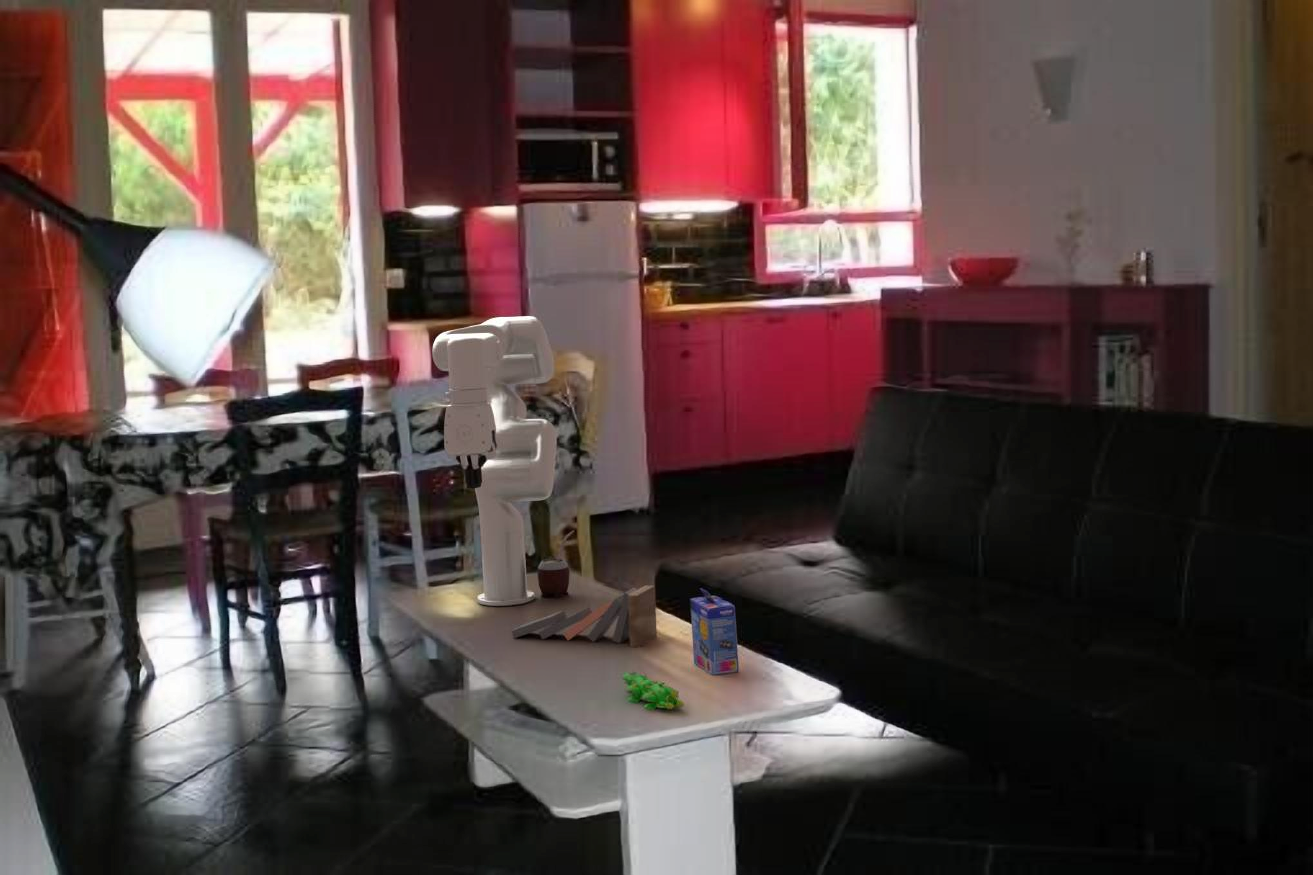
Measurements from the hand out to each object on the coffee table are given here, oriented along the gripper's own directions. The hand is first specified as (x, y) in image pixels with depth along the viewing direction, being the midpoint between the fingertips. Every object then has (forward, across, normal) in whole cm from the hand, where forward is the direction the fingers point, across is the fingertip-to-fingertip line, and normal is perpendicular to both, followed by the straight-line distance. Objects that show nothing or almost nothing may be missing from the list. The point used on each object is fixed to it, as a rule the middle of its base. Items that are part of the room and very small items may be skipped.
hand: (474, 487), depth 320 cm
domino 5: (+29, +33, -4) cm, 44 cm away
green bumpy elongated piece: (+30, +54, -44) cm, 76 cm away
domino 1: (+28, +10, -4) cm, 31 cm away
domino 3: (+28, +22, -4) cm, 36 cm away
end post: (+29, +37, -4) cm, 48 cm away
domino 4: (+29, +27, -4) cm, 40 cm away
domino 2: (+28, +16, -4) cm, 33 cm away
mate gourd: (+29, +2, +32) cm, 43 cm away
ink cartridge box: (+29, +58, -21) cm, 68 cm away
